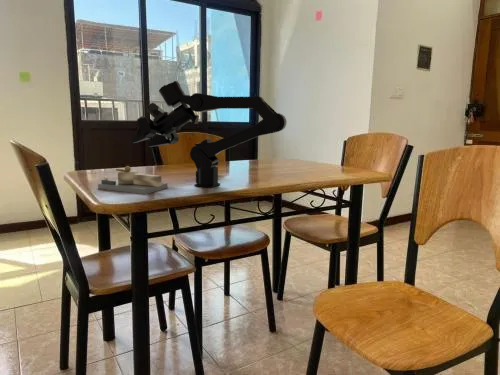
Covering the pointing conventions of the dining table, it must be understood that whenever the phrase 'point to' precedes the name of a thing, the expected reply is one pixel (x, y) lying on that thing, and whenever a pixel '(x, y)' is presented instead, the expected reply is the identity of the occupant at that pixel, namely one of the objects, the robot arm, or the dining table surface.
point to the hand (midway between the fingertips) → (139, 144)
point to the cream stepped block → (137, 178)
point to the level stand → (129, 187)
